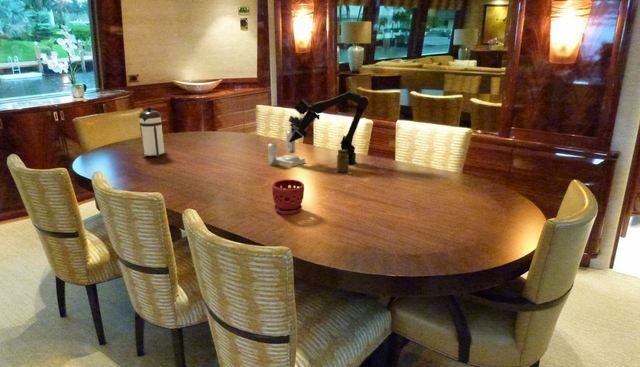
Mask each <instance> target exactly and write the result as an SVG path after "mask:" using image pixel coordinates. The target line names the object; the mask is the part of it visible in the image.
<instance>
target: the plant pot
mask: <svg viewBox="0 0 640 367" xmlns="http://www.w3.org/2000/svg"><path fill="white" fill-rule="evenodd" d="M289 186H290V187H289ZM271 189H272V190H271V191H272V199H273V202H274V206H273V209H274V210H275V211H276V213H278V214H282V215H292V214H297V213H299V212H301V210H302V209H303V206H302V203H303V199H304V193H305V184H304V182H302V181H300V180H297V179H280V180H277V181H274V182H272V186H271Z"/></svg>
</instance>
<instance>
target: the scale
mask: <svg viewBox="0 0 640 367" xmlns="http://www.w3.org/2000/svg"><path fill="white" fill-rule="evenodd" d="M305 162H306V159H305V158H304V157H299V156H298V155H290V154H285V155H282V156H277V165H280V166H285V167H289V168H292V167H295V166H299V165H301V164H304V163H305Z"/></svg>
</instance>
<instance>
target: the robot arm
mask: <svg viewBox="0 0 640 367" xmlns="http://www.w3.org/2000/svg"><path fill="white" fill-rule="evenodd" d="M348 100H349V101H351V102H353V103H355V104H357V105H356V111H355V114H354V116H353V118H352V121H351V124H350V127H349V128H348V131H347V134H346V135H343V137H342V140H341V141H340V149H345V150H348V156H349V161H348V162H349V163H348V164H349V165H348V166H353V165H355V164H358V161H356V160H357V159H356V155H357V153H356V147H355V146H354V145H353V140H354V136H355V133H356V131H357V128H358V126H359V123H360V120H361V118H362V115H363V114H364V112H365V111H366V109H367V108H368V106H369V102H370V100H369V97H367V96H366V95H360V94H357V93H355V92H352V91H347V92H345V93H343V94H340V95H338V96H335V97H333V98H330V99H328V100H327V99H326V100H321V101H317V102H315V103H314V104H310V105H308V103H307V102H306V101H305V100H304V99H301V100H300V101H299V102H297V104H295V106H294V107H293V109H294V110H295V111H296V112H297V113H298V114H300V115H303V117H300V118H299V117H297V116H292V115H290V116H289V119H288V122H289V123H290V125H289V126H290V131H294V134H293V136H292V137H291V139H290V140H289V142H290V143H291V142H293V141H295V142H296V141H297V140H300V139H302V138H304V139H305V138H307V136H308V132H307V131H306V130H307V129H308V128H310V127H311V124H312V123H313V122H314V121H315V120H316V119H317V120H318V121H320V114H321V113H322V112H324V111H326V110H327V109H329V108H331V107H333V106H336V105H338V104H341V103H343V102H346V101H348Z"/></svg>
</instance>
